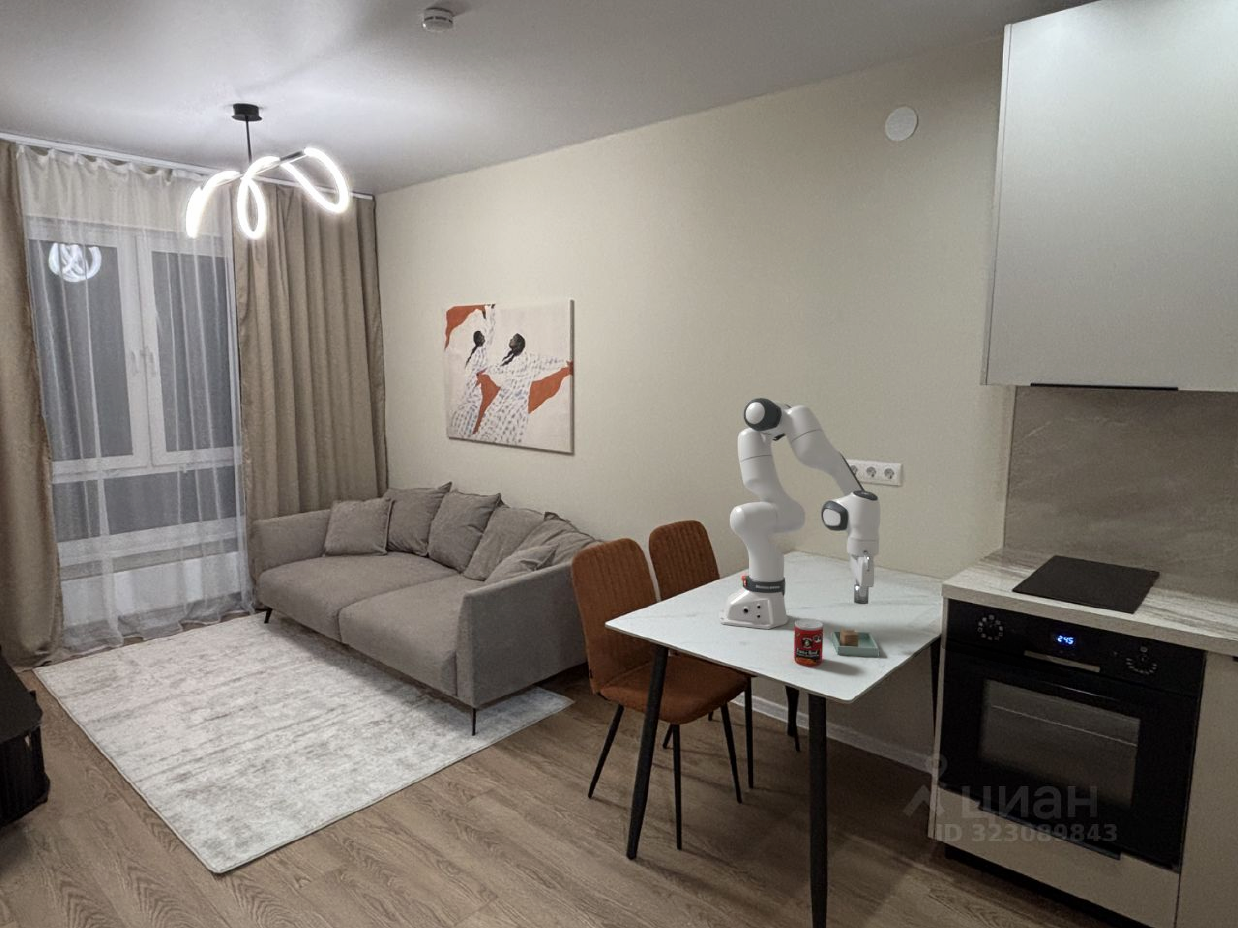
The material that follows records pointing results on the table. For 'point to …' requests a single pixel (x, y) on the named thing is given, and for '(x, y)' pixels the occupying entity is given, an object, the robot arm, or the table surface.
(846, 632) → the walnut block
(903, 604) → the table surface
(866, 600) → the metal peg
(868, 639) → the tray
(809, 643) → the canned food
